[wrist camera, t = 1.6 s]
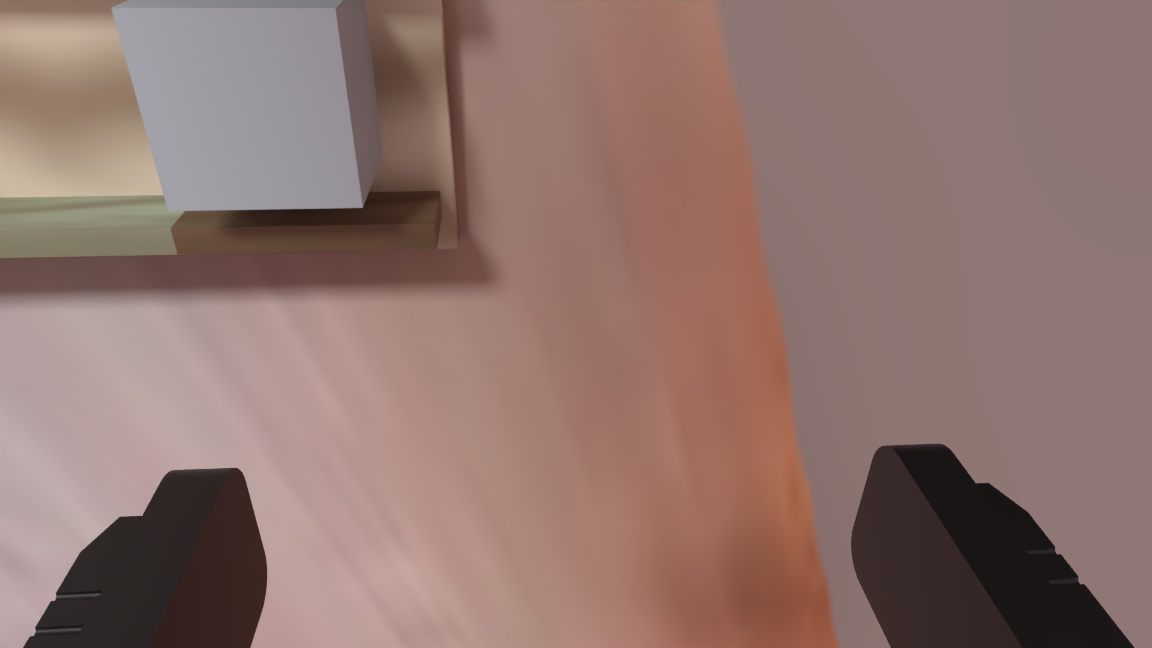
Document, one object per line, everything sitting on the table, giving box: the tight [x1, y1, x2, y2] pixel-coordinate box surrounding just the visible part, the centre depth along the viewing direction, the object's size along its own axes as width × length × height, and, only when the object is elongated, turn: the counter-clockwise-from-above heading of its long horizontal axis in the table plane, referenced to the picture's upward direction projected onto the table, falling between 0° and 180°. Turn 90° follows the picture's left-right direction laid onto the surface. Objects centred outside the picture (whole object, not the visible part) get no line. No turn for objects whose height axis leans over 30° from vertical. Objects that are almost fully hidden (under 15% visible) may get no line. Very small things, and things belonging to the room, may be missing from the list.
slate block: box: [111, 0, 383, 211], centre depth 25 cm, size 6×6×5 cm
